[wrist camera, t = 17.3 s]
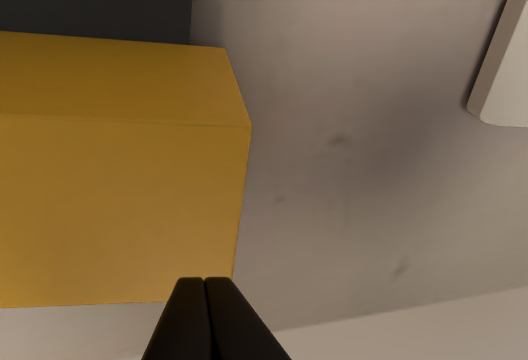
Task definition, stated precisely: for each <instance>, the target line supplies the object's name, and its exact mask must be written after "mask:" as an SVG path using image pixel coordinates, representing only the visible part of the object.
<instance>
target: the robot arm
mask: <svg viewBox="0 0 528 360" xmlns="http://www.w3.org/2000/svg"><path fill="white" fill-rule="evenodd" d="M141 360H292V359H291V358H290V357H289V356H288V354H287V353H286V352H285V350H284V349H283V348H282V346H281V345H280V344H279V342H278V341H277V340H276V338H275V337H274V336H273V334H272V333H271V332H270V330H269V329H268V328H267V326H266V325H265V324H264V323H263V321H262V320H261V319H260V317H259V316H258V315H257V313H256V312H255V311H254V309H253V308H252V307H251V305H250V304H249V303H248V301H247V300H246V299H245V297H244V296H243V295H242V293H241V292H240V291H239V289H238V288H237V287H236V286H235V284H234V283H233V282H232V280H231V279H230V278H228V277H207V278H205V279H204V280H203V279H202V278H201V277H181V278H179V279H178V280H177V282H176V284H175V286H174V288H173V291H172V293H171V295H170V297H169V299H168V302H167V304H166V306H165V308H164V310H163V313H162V315H161V317H160V319H159V321H158V324H157V326H156V328H155V330H154V333H153V335H152V337H151V339H150V341H149V344H148V346H147V348H146V350H145V352H144V355H143V357H142V359H141Z"/></svg>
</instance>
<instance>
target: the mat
mask: <svg viewBox="0 0 528 360" xmlns="http://www.w3.org/2000/svg"><path fill="white" fill-rule="evenodd" d="M191 6H192V0H0V31H9V32H22V33H35V34H48V35H61V36H74V37H88V38H101V39H114V40H127V41H140V42H153V43H167V44H180V45H189V35H190V21H191Z"/></svg>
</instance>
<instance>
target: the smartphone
mask: <svg viewBox="0 0 528 360" xmlns="http://www.w3.org/2000/svg"><path fill="white" fill-rule="evenodd" d="M467 109H468V110H469V111H470V112H471V113H472V114H474V115H475V116H476V117H477V118H479V119H480V120H481V121H482V122H484V123H486V124H489V125H496V126H514V127H528V0H507V3H506V5H505V8H504V10H503V13H502V15H501V18H500V20H499V23H498V26H497V28H496V31H495V33H494V36H493V38H492V41H491V44H490V46H489V49H488V51H487V54H486V56H485V59H484V62H483V64H482V67H481V69H480V72H479V74H478V77H477V80H476V82H475V85H474V87H473V90H472V92H471V95H470V98H469V100H468V103H467Z"/></svg>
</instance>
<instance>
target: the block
mask: <svg viewBox="0 0 528 360" xmlns="http://www.w3.org/2000/svg"><path fill="white" fill-rule="evenodd" d="M251 133H252V124H251V121H250V119H249V116H248V113H247V110H246V107H245V104H244V101H243V98H242V95H241V93H240V90H239V87H238V84H237V81H236V78H235V75H234V72H233V69H232V66H231V64H230V61H229V58H228V55H227V52H226V49H225V48H219V47H206V46H193V45H180V44H167V43H153V42H140V41H127V40H114V39H101V38H88V37H74V36H61V35H48V34H35V33H22V32H9V31H0V308H19V307H45V306H70V305H95V304H121V303H146V302H168V299H169V297H170V295H171V293H172V291H173V288H174V286H175V284H176V282H177V280H178V279H179V278H181V277H201V278H202V279H203V280H204V279H205V278H207V277H228V278H230V279H231V280H232V277H233V269H234V262H235V254H236V246H237V239H238V231H239V224H240V216H241V209H242V201H243V193H244V186H245V178H246V171H247V163H248V155H249V148H250V140H251Z"/></svg>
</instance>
